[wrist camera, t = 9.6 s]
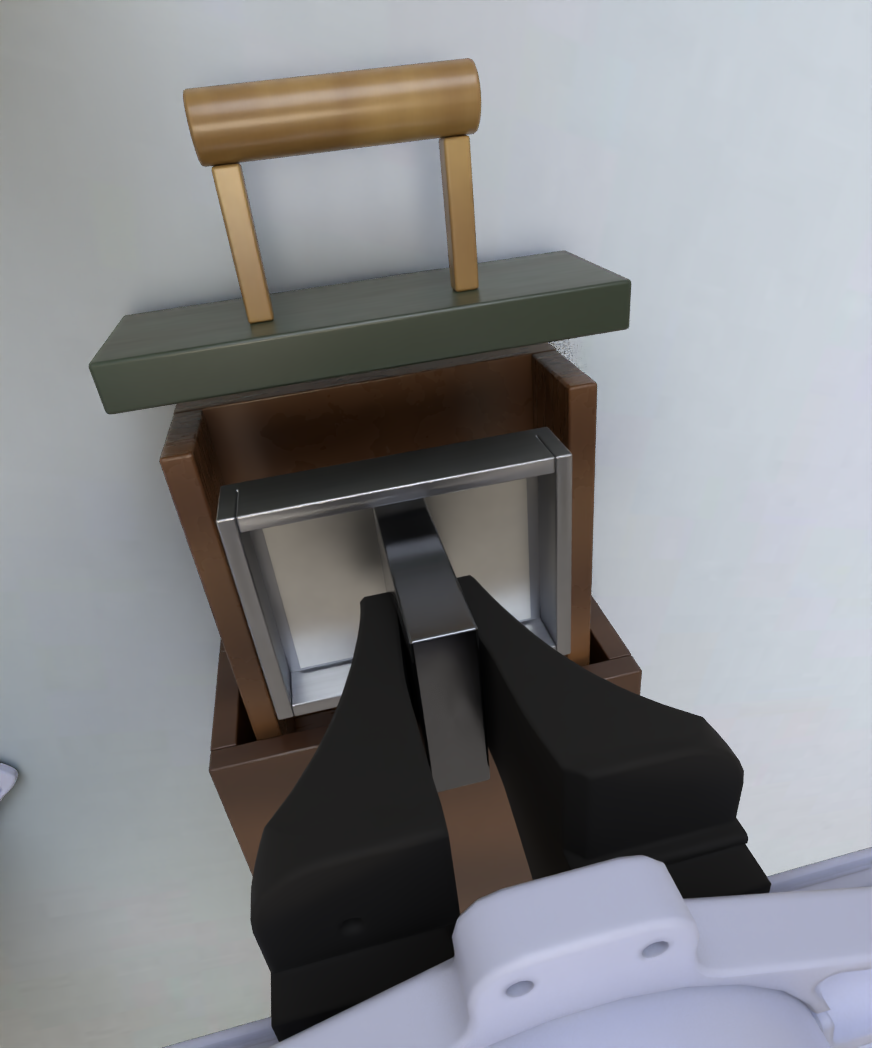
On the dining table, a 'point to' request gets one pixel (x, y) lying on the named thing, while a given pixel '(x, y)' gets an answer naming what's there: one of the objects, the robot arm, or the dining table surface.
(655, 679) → the dining table surface
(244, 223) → the drawer
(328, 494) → the tray
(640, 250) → the dining table surface
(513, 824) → the cabinet
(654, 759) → the robot arm
